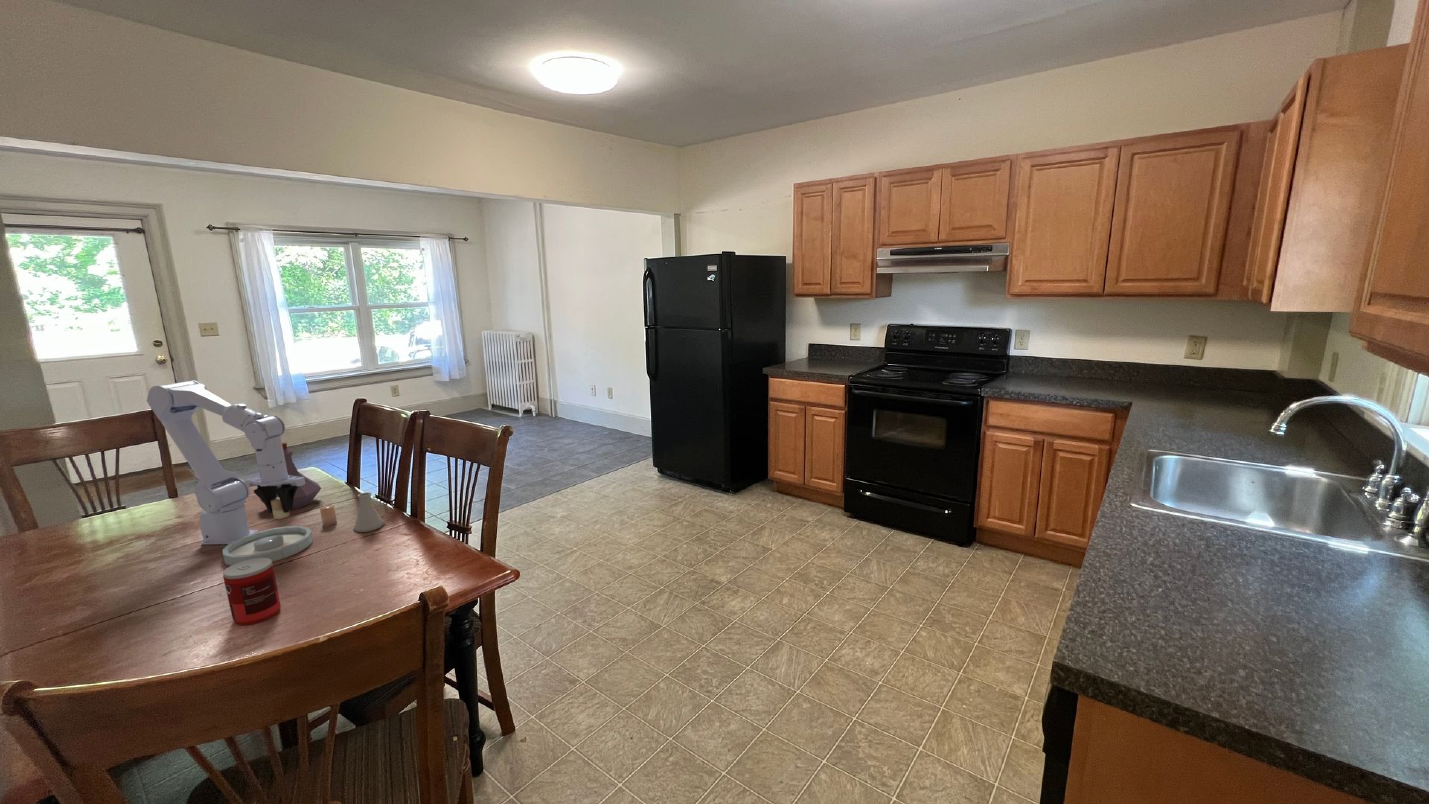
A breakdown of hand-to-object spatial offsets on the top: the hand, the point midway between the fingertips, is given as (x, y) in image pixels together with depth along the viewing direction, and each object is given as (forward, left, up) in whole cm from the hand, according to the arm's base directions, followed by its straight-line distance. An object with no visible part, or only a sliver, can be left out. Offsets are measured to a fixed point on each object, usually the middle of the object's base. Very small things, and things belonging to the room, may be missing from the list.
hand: (281, 511), depth 149 cm
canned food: (+22, -35, -8) cm, 43 cm away
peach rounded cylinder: (+4, +11, -8) cm, 14 cm away
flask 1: (-18, +26, -8) cm, 32 cm away
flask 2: (+18, +8, -8) cm, 21 cm away
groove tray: (0, -5, -8) cm, 10 cm away
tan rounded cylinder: (0, 0, -1) cm, 1 cm away
